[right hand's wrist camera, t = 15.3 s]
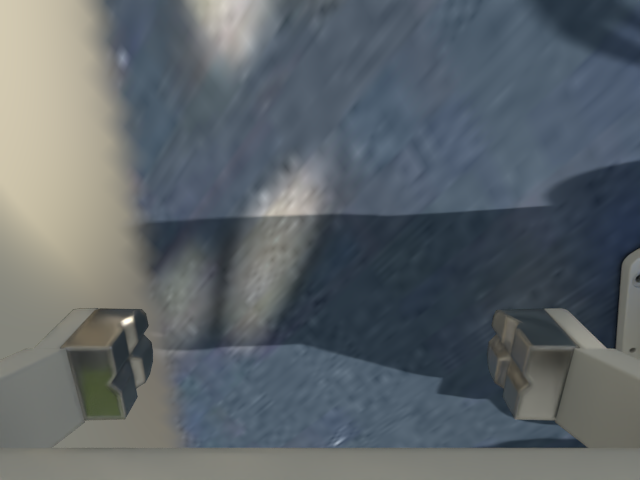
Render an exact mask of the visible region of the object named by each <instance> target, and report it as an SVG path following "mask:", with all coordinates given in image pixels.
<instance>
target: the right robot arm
mask: <svg viewBox="0 0 640 480" xmlns="http://www.w3.org/2000/svg"><path fill="white" fill-rule="evenodd" d="M638 275H639V277H638V278H636V277H637V276H638ZM491 326H492V328H493V329H494V331H495V332H496V335H495V336H494V337H493V338H492V339H491V340H490V341H489V343H488V350H487V361H488V368H489V371H490V375H491V377H492V379H493V380H494V382H495V383H496V384H497V385H499V386H500V387H502V388H503V389H504V391H503V399H504V401H505V402H506V404H507V406H508V408H509V409H510V411H511V413H512V415H513V417H514V418H515V419H522V420H556V421H555V422H556V423H557V424H558V425H559V426H561V427H562V428H563V429H565V430H566V431H567V432H568V433H570V434H571V435H572V436H574V437H575V438H576V439H577V440H579V441H580V442H581V443H583V444H584V445H585V446H586V447H588V448H52V447H54V446H55V445H56V444H58V443H59V442H60V441H61V440H63V439H64V438H65V437H67V436H68V435H69V434H70V433H72V432H73V431H74V430H75V429H77V428H78V427H79V426H81V425H82V424H83V423H84V422H85V421H84V420H117V419H125V418H126V417H127V415H128V413H129V411H130V409H131V408H132V406H133V404H134V402H135V401H136V399H137V392H136V389H137V388H138V387H139V386H141V385H143V384H144V383H145V382H146V380H147V378H148V377H149V375H150V371H151V367H152V363H153V349H152V343H151V341H150V340H149V339H148V338H147V337H146V336H145V335H144V332H145V331H146V329H147V328H148V321H147V316H146V313H145V312H144V311H143V310H142V309H98V308H81V309H74V310H72V311H71V312H70V313H69V314H68V315H67V316H66V317H65V318H64V319H63V320H62V321H61V322H60V323H59V324H58V325H57V326H56V327H55V328H54V329H53V330H52V331H51V332H50V333H49V334H48V335H47V336H46V337H45V338H43V339H42V340H41V341H40V342H39V343H38V344H37V345H36V346H35V347H34V348H30V349H24V350H21V351H19V352H17V353H15V354H12V355H10V356H8V357H5V358H3V359H1V360H0V480H640V248H639V249H637V250H636V251H634V252H632V253H631V254H630V255H628V256H627V257H626V258H625V259H624V261H623V263H622V268H621V282H620V296H619V310H618V323H617V337H616V349H610V348H606V347H605V346H604V345H603V344H602V343H601V342H600V341H599V340H598V339H597V338H596V337H595V336H594V335H592V334H591V333H590V332H589V331H588V330H587V329H586V328H585V327H584V326H583V325H582V324H581V323H580V322H579V321H578V320H577V319H576V318H575V317H574V316H573V315H572V314H571V313H570V312H569V311H568V310H566V309H563V308H549V309H512V310H496V312H495V314H494V316H493V320H492V325H491Z"/></svg>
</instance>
